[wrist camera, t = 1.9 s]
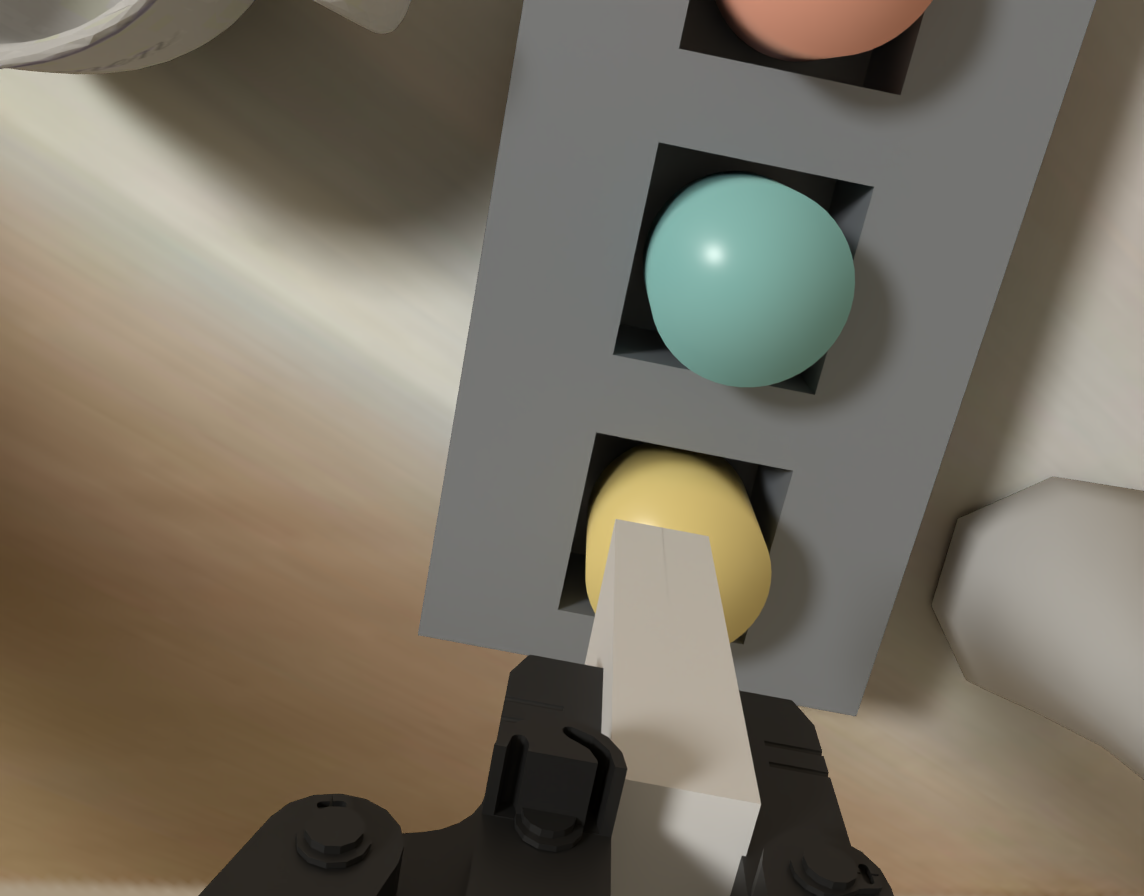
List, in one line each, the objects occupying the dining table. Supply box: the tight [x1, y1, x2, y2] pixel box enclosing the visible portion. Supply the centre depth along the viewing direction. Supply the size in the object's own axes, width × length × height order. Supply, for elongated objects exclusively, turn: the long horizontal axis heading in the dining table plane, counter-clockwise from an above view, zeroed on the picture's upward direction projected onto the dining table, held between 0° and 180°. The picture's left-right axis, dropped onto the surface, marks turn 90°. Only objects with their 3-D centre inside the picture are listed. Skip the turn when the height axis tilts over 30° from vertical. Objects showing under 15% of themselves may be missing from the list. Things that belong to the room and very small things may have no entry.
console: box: [418, 0, 1096, 716], centre depth 26 cm, size 12×22×4 cm, turn 169°
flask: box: [931, 477, 1144, 780], centre depth 26 cm, size 7×7×10 cm
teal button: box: [643, 171, 855, 387], centre depth 24 cm, size 4×4×4 cm
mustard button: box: [586, 442, 771, 643], centre depth 26 cm, size 4×4×4 cm
